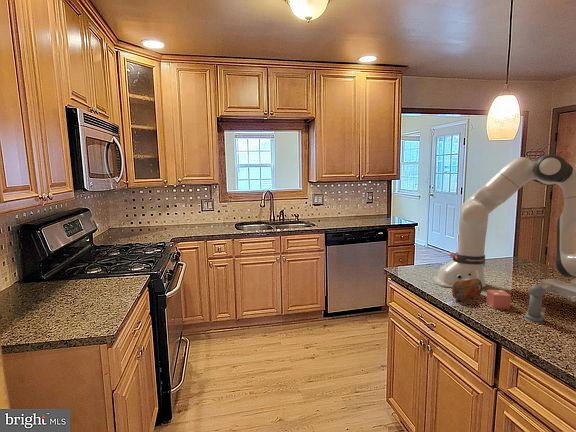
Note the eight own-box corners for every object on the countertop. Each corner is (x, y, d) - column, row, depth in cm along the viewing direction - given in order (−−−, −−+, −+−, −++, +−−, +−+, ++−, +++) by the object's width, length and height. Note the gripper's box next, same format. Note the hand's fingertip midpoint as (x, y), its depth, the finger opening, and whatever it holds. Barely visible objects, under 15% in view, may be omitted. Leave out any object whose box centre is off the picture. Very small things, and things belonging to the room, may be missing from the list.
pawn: (530, 321, 121) (533, 287, 120) (522, 315, 126) (525, 282, 125) (546, 322, 121) (549, 288, 119) (537, 316, 126) (541, 282, 124)
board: (519, 303, 139) (519, 301, 139) (556, 311, 132) (557, 309, 132) (512, 319, 125) (512, 317, 125) (554, 329, 117) (554, 327, 117)
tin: (456, 302, 141) (457, 282, 140) (449, 300, 144) (451, 280, 142) (482, 297, 147) (483, 277, 146) (475, 294, 150) (477, 275, 148)
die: (492, 310, 133) (494, 294, 132) (486, 304, 139) (487, 289, 138) (509, 310, 132) (511, 295, 132) (502, 304, 138) (503, 290, 137)
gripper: (555, 273, 139) (529, 277, 135) (616, 290, 119) (588, 295, 115) (553, 288, 140) (527, 292, 136) (614, 308, 120) (586, 313, 116)
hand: (556, 294), depth 125 cm, fingers open, 8 cm apart
